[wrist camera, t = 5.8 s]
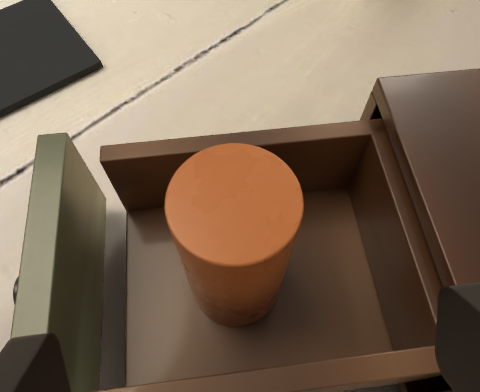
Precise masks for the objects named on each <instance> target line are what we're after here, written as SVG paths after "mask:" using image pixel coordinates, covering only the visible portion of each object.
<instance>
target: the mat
mask: <svg viewBox="0 0 480 392" xmlns="http://www.w3.org/2000/svg"><path fill="white" fill-rule="evenodd" d="M101 67H103V66H102V63H101V61H100V60H99V59H98V57H97V56H96V55H95V54H94V52H93V51H92V50H91V49H90V48H89V46H88V45H87V44H86V43H85V41H84V40H83V39H82V38H81V37H80V35H79V34H78V33H77V32H76V30H75V29H74V28H73V27H72V26H71V24H70V23H69V22H68V21H67V19H66V18H65V17H64V16H63V15H62V13H61V12H60V11H59V10H58V9H57V7H56V6H55V5H54V4H53V2H52V1H51V0H23V1H20V2H18V3H16V4H13V5H11V6H8V7H6V8H3V9H1V10H0V117H1V116H3V115H5V114H7V113H9V112H11V111H13V110H15V109H18V108H20V107H22V106H24V105H26V104H28V103H30V102H32V101H34V100H36V99H38V98H40V97H42V96H44V95H46V94H48V93H50V92H52V91H54V90H56V89H58V88H60V87H62V86H64V85H66V84H68V83H71V82H73V81H75V80H77V79H79V78H81V77H83V76H85V75H87V74H89V73H91V72H93V71H95V70H97V69H99V68H101Z"/></svg>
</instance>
